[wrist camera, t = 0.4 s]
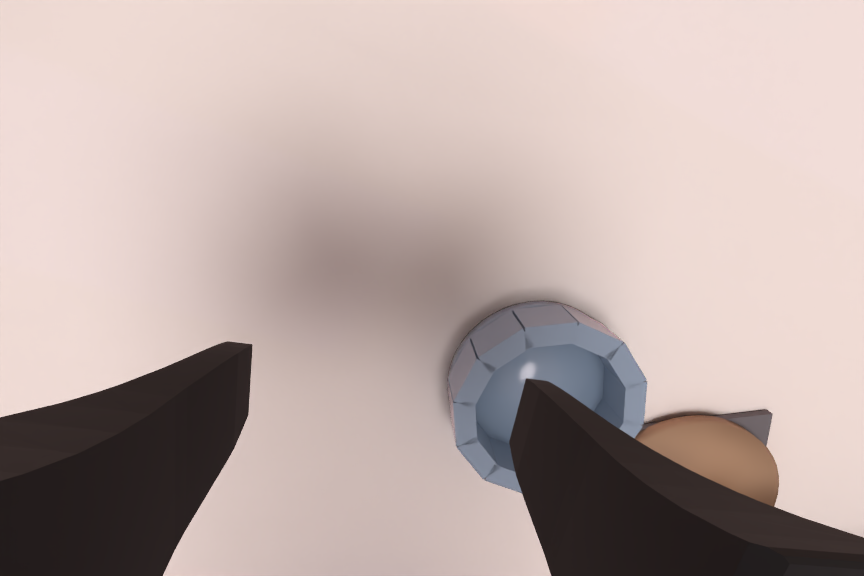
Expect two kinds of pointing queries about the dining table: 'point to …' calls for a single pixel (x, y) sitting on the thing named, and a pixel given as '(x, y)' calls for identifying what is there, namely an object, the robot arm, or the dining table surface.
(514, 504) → the dining table surface
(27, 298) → the dining table surface
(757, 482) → the lid
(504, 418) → the bowl
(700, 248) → the dining table surface
